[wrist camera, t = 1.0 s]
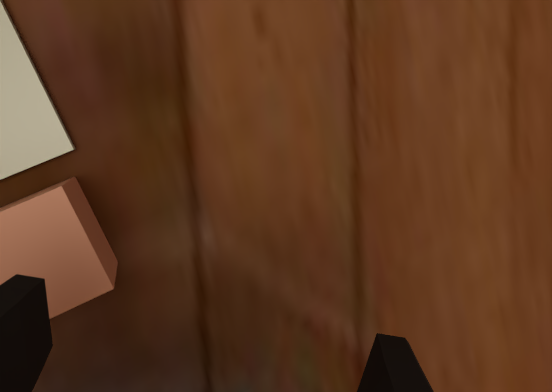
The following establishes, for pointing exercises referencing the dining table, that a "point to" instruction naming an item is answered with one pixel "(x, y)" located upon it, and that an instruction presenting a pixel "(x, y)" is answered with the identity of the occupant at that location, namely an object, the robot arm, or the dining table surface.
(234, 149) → the dining table surface
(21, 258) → the terracotta cube
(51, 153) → the plate
